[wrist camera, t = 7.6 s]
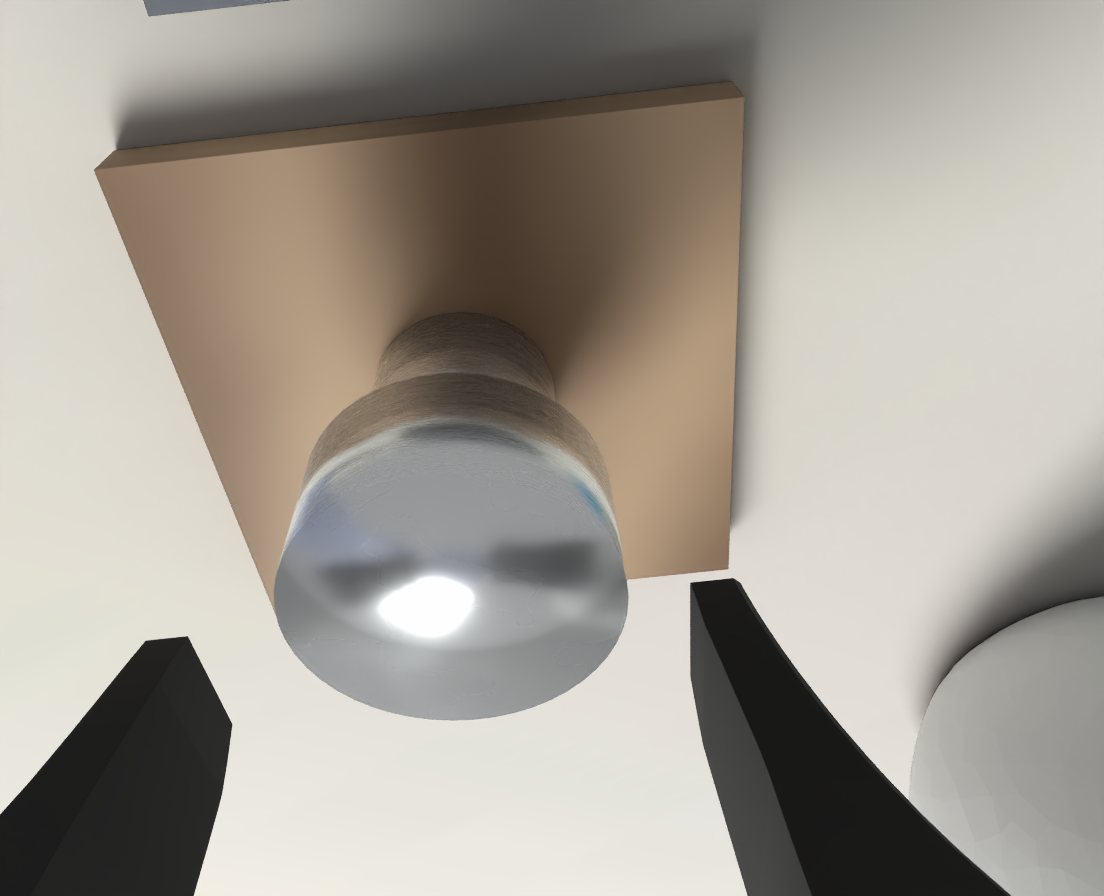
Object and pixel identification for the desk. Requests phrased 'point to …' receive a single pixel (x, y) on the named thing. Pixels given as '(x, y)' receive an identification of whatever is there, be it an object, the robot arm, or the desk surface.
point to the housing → (194, 5)
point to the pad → (459, 286)
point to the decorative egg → (1022, 754)
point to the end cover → (454, 534)
